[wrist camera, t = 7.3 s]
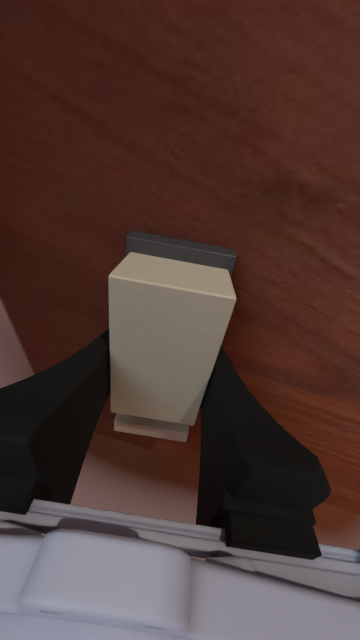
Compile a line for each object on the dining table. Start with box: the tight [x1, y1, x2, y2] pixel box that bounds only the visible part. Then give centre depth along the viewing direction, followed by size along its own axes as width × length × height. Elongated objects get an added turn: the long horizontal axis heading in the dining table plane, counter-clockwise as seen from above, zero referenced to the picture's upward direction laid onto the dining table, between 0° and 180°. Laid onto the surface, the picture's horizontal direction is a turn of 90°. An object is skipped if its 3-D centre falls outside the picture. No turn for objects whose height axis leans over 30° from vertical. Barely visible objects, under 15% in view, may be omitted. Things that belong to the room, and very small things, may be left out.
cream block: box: [108, 231, 237, 442], centre depth 12 cm, size 11×5×4 cm, turn 171°
